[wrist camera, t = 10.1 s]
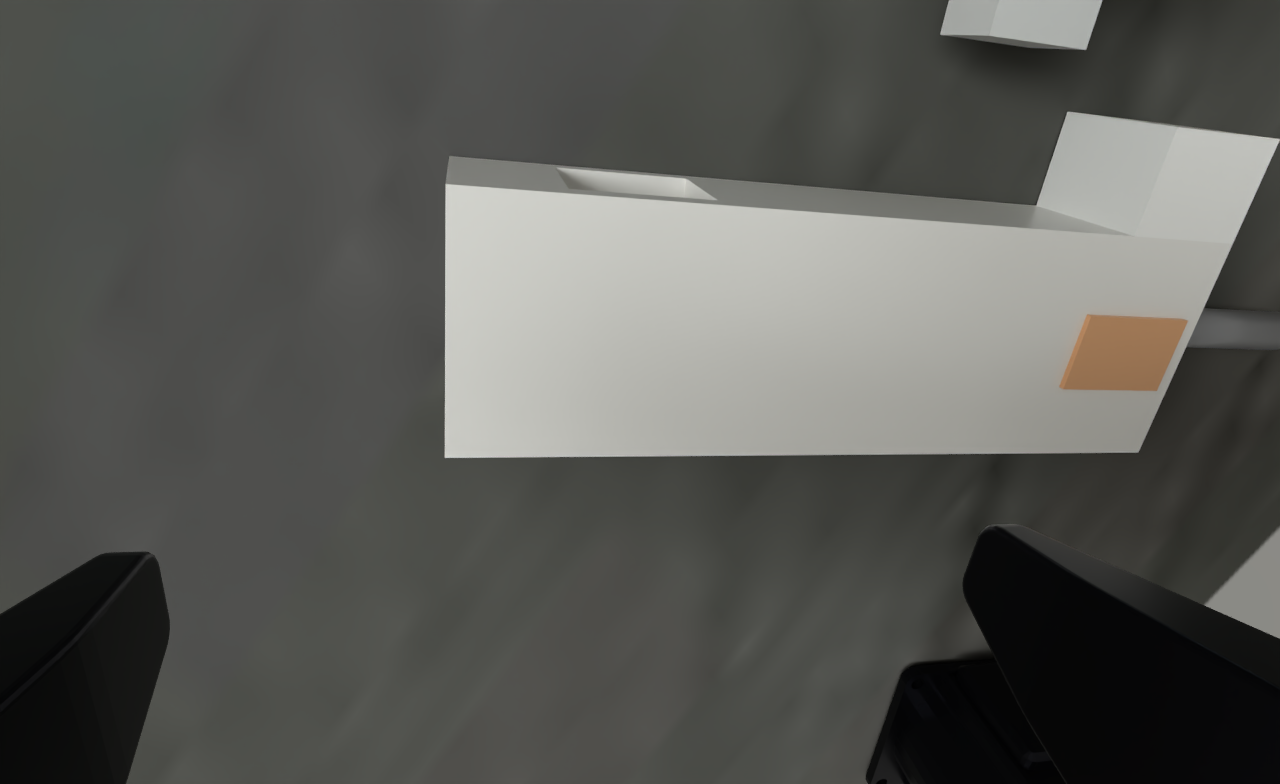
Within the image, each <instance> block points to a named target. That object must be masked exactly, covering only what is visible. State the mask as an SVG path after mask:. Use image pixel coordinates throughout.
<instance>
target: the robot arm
mask: <svg viewBox="0 0 1280 784" xmlns="http://www.w3.org/2000/svg"><path fill="white" fill-rule="evenodd" d="M963 593H964V597H965V599H966V602H967V604H968V606H969V608H970V610H971V612H972V614H973V616H974V618H975V620H976V622H977V624H978V626H979V628H980V629H981V631H982V633H983V635H984V637H985V639H986V641H987V643H988V645H989V647H990V649H991V651H992V653H993V655H994V657H995V660H983V661H971V662H959V663H947V664H935V665H923V666H914V667H910V668H909V669H907V670H905V671H904V672H903V673H902V675H901V677H900V680H899V683H898V685H897V688H896V691H895V694H894V697H893V700H892V703H891V705H890V708H889V711H888V714H887V717H886V720H885V723H884V726H883V728H882V731H881V734H880V737H879V740H878V743H877V746H876V748H875V751H874V754H873V757H872V760H871V763H870V766H869V769H868V771H867V774H866V781H867V782H868V784H1280V639H1279V638H1277V637H1274V636H1272V635H1270V634H1267V633H1265V632H1263V631H1261V630H1258V629H1256V628H1254V627H1252V626H1249V625H1247V624H1245V623H1242V622H1240V621H1238V620H1236V619H1233V618H1231V617H1229V616H1227V615H1224V614H1222V613H1220V612H1217V611H1215V610H1213V609H1211V608H1209V607H1206V606H1204V605H1202V604H1199V603H1197V602H1195V601H1193V600H1190V599H1188V598H1186V597H1184V596H1181V595H1179V594H1177V593H1175V592H1172V591H1170V590H1168V589H1165V588H1163V587H1161V586H1159V585H1156V584H1154V583H1152V582H1150V581H1147V580H1145V579H1143V578H1141V577H1138V576H1136V575H1134V574H1131V573H1129V572H1127V571H1125V570H1122V569H1120V568H1118V567H1116V566H1113V565H1111V564H1109V563H1107V562H1104V561H1102V560H1100V559H1097V558H1095V557H1093V556H1091V555H1088V554H1086V553H1084V552H1082V551H1079V550H1077V549H1075V548H1073V547H1070V546H1068V545H1066V544H1063V543H1061V542H1059V541H1057V540H1054V539H1052V538H1050V537H1048V536H1045V535H1043V534H1041V533H1038V532H1036V531H1034V530H1032V529H1029V528H1027V527H1025V526H1022V525H1018V524H999V525H989V526H987V527H985V528H984V529H983V530H982V531H981V532H980V534H979V536H978V539H977V542H976V544H975V547H974V550H973V552H972V555H971V558H970V560H969V563H968V566H967V569H966V571H965V574H964V577H963ZM169 632H170V620H169V614H168V609H167V603H166V598H165V593H164V588H163V583H162V578H161V572H160V567H159V564H158V561H157V559H156V558H155V556H154V555H152V554H151V553H149V552H114V553H104V554H100V555H99V556H97V557H95V558H93V559H91V560H90V561H88V562H86V563H85V564H83V565H81V566H80V567H78V568H76V569H75V570H73V571H71V572H70V573H68V574H66V575H65V576H63V577H61V578H60V579H58V580H56V581H55V582H53V583H51V584H50V585H48V586H46V587H45V588H43V589H41V590H40V591H38V592H36V593H35V594H33V595H31V596H30V597H28V598H26V599H25V600H23V601H21V602H20V603H18V604H16V605H15V606H13V607H11V608H10V609H8V610H6V611H5V612H3V613H1V614H0V784H126V782H127V779H128V776H129V773H130V769H131V766H132V763H133V759H134V756H135V752H136V749H137V746H138V742H139V739H140V736H141V732H142V729H143V726H144V722H145V719H146V716H147V712H148V709H149V705H150V702H151V699H152V695H153V692H154V689H155V685H156V682H157V679H158V675H159V672H160V668H161V665H162V662H163V658H164V655H165V652H166V648H167V645H168V640H169Z"/></svg>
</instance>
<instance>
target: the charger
mask: <svg viewBox="0 0 1280 784" xmlns="http://www.w3.org/2000/svg"><path fill="white" fill-rule="evenodd" d="M1101 3H1102V0H949V2H948V6H947V10H946V14H945V18H944V22H943V25H942V29H941V33H940V35H945V36H952V37H959V38H966V39H972V40H979V41H986V42H993V43H1000V44H1007V45H1013V46H1020V47H1027V48H1047V49H1074V50H1086V48H1087V45H1088V42H1089V39H1090V36H1091V33H1092V30H1093V27H1094V24H1095V21H1096V18H1097V15H1098V12H1099V9H1100V6H1101Z"/></svg>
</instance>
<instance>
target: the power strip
mask: <svg viewBox="0 0 1280 784" xmlns="http://www.w3.org/2000/svg"><path fill="white" fill-rule="evenodd" d="M1279 141H1280V139H1275V138H1267V137H1260V136H1253V135H1246V134H1238V133H1231V132H1224V131H1217V130H1209V129H1202V128H1195V127H1187V126H1180V125H1173V124H1166V123H1158V122H1150V121H1142V120H1134V119H1125V118H1117V117H1109V116H1101V115H1092V114H1084V113H1076V112H1067V115H1066V118H1065V121H1064V124H1063V127H1062V130H1061V133H1060V136H1059V139H1058V142H1057V145H1056V148H1055V151H1054V154H1053V157H1052V160H1051V163H1050V166H1049V169H1048V172H1047V175H1046V178H1045V181H1044V184H1043V187H1042V190H1041V193H1040V196H1039V199H1038V202H1037V205H1036V206H1035V205H1023V204H1011V203H999V202H987V201H976V200H964V199H952V198H940V197H928V196H916V195H905V194H893V193H881V192H869V191H857V190H845V189H834V188H822V187H810V186H798V185H786V184H775V183H763V182H751V181H739V180H727V179H715V178H704V177H692V176H680V175H668V174H656V173H645V172H633V171H621V170H609V169H597V168H585V167H574V166H562V165H550V164H538V163H526V162H514V161H503V160H491V159H479V158H467V157H455V156H449V163H448V171H447V178H446V249H445V458H487V457H620V456H753V455H886V454H1019V453H1138V452H1139V450H1140V448H1141V446H1142V444H1143V441H1144V439H1145V437H1146V435H1147V432H1148V430H1149V428H1150V426H1151V424H1152V421H1153V419H1154V417H1155V415H1156V413H1157V410H1158V408H1159V406H1160V404H1161V402H1162V399H1163V397H1164V395H1165V393H1166V390H1167V388H1168V386H1169V384H1170V382H1171V379H1172V377H1173V375H1174V373H1175V371H1176V368H1177V366H1178V364H1179V362H1180V359H1181V357H1182V355H1183V353H1184V351H1185V348H1186V347H1191V348H1220V349H1250V350H1278V349H1280V312H1272V311H1252V310H1232V309H1211V308H1204V306H1205V304H1206V302H1207V300H1208V298H1209V295H1210V293H1211V291H1212V289H1213V287H1214V284H1215V282H1216V280H1217V278H1218V275H1219V273H1220V271H1221V269H1222V267H1223V264H1224V262H1225V260H1226V258H1227V256H1228V253H1229V251H1230V249H1231V247H1232V244H1233V242H1234V240H1235V238H1236V236H1237V233H1238V231H1239V229H1240V227H1241V225H1242V222H1243V220H1244V218H1245V216H1246V214H1247V211H1248V209H1249V207H1250V205H1251V202H1252V200H1253V198H1254V196H1255V194H1256V191H1257V189H1258V187H1259V185H1260V183H1261V180H1262V178H1263V176H1264V174H1265V172H1266V169H1267V167H1268V165H1269V163H1270V160H1271V158H1272V156H1273V154H1274V152H1275V149H1276V147H1277V145H1278V143H1279Z"/></svg>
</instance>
